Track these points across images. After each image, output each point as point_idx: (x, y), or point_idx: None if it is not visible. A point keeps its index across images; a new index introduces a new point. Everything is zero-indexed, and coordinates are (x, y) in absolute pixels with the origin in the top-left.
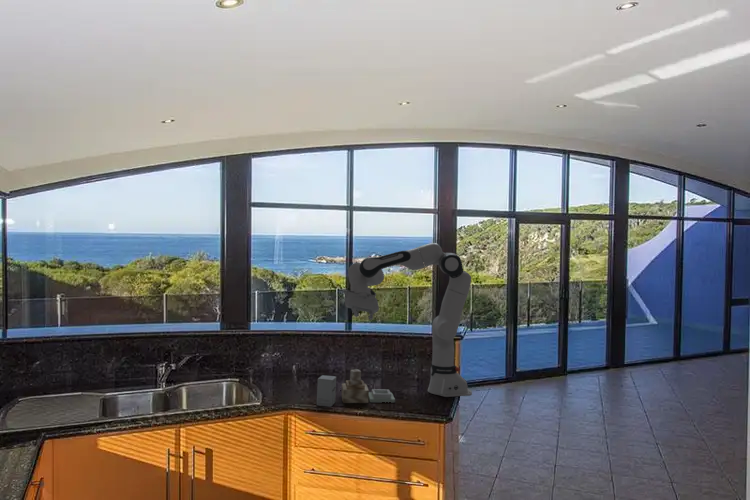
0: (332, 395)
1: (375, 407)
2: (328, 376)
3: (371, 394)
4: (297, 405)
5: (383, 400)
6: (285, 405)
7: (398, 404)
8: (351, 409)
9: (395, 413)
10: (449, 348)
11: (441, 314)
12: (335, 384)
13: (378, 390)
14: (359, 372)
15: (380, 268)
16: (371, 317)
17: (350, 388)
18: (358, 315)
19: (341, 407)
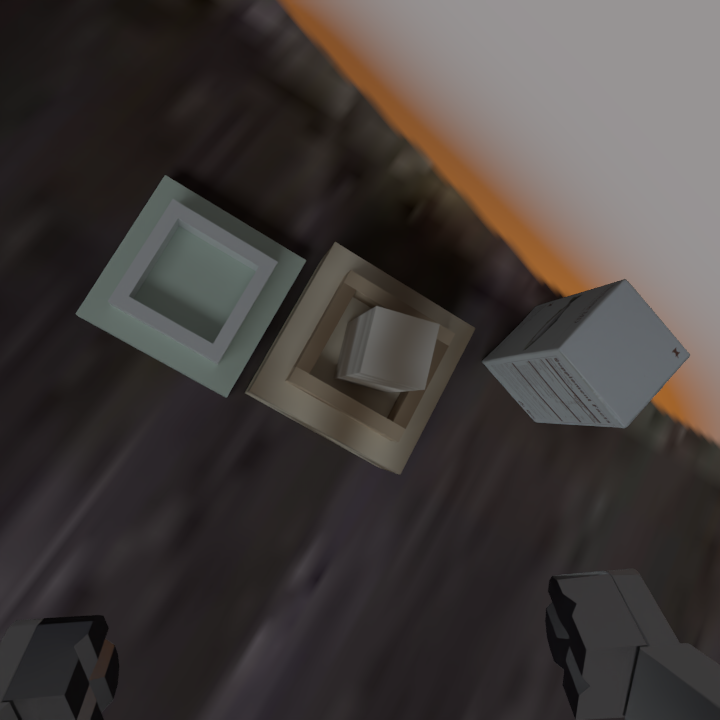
0: (558, 303)
1: (331, 173)
2: (609, 369)
3: (235, 341)
4: (665, 415)
5: (232, 217)
6: (712, 443)
7: (171, 143)
8: (465, 216)
9: (297, 31)
10: None
11: None
12: (545, 337)
13: (183, 328)
14: (386, 310)
15: None
16: (65, 628)
17: None
18: (566, 577)
19: (493, 272)
